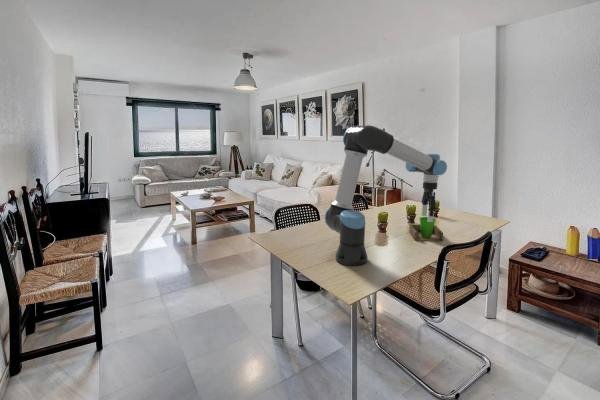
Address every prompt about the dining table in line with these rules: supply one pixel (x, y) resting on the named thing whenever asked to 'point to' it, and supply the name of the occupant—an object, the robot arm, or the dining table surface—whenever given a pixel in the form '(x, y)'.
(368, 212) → the dining table surface
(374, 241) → the dining table surface
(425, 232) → the cup
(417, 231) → the wooden tray
